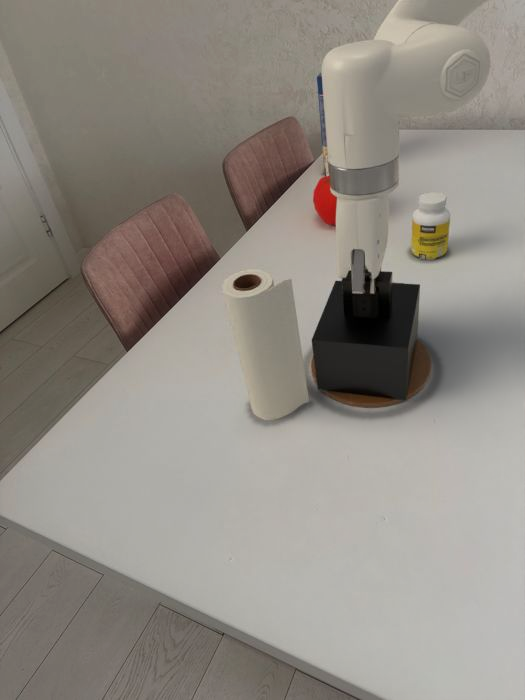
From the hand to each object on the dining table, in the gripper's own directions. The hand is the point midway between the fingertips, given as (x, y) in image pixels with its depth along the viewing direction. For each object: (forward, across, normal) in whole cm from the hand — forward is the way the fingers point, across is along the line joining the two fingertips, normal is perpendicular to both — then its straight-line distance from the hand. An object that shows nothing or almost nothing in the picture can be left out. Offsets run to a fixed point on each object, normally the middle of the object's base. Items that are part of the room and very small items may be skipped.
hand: (367, 308), depth 66 cm
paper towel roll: (+12, +10, -11) cm, 19 cm away
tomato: (+12, -48, -14) cm, 51 cm away
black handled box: (+10, 0, 0) cm, 10 cm away
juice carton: (+12, -80, -20) cm, 83 cm away
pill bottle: (+12, -34, +6) cm, 36 cm away
